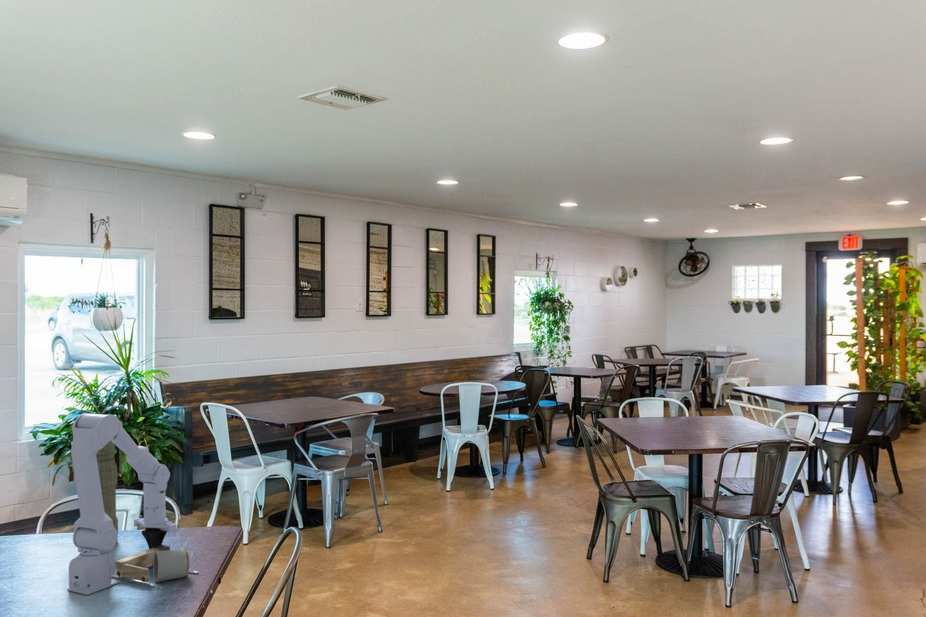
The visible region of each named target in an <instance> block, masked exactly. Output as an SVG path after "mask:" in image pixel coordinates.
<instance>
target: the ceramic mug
mask: <svg viewBox="0 0 926 617" xmlns="http://www.w3.org/2000/svg"><path fill="white" fill-rule="evenodd" d="M152 566H153V568H152V569H153V580H154V581H155V582H156V583H161V582H165V581H169V580H170V581H171V580H176V578H177V579H182V578H184V576H185V577H186V576H188V574H189V573H188V572H189V570H190V556H189V551H187V550H186V549H182V548H181V549H179V548H178V549H170V550H166V551H156V552H155V554H154V560H153V565H152ZM181 577H182V578H181Z"/></svg>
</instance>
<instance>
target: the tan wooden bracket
mask: <svg viewBox="0 0 926 617" xmlns="http://www.w3.org/2000/svg"><path fill="white" fill-rule="evenodd" d="M166 550H171V548H170V545H165V544H162V545H159V546H157V547H154V548H151V549H149V548H148V549H145V550H143V551H140V552H138V553H135V554H132V555H129V556H126V557H124V558H121V559H117V560H115V568H114V569H115V575H117V576H121V577H126V578H130V579H135V580H139V581H143V582H148V583H150V568H148V567H150V566H153V560H154V554H155V552H156V551H166Z"/></svg>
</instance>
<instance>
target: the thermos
mask: <svg viewBox="0 0 926 617" xmlns="http://www.w3.org/2000/svg"><path fill="white" fill-rule="evenodd" d="M115 446H116V445H115V444H114V443H113V442H112V441H110V442H108V443H107V444H106V445H105V446H104V447H103V448H102V449H100V450H99V451H98V452H97V454H96V457H97V464H98V471H99V477H100V484H101V491H102V498H103V505H104V511H105V513H106V514H107V515H108V516H109V517H110V518H111V519H112V521H113V525H114V527H115V529H116V530H117V533H118V534H119V519H118V516H117V496H116V493H117V492H116V491H117V490H116V489H117V488H116V487H117V486H118V477H119V475H122V469H123V468H122V467H123V464H122V462H123V460H122V457H123V456H122V453H123V451H122V450H121V449H119V448H118V447H117V446H116V448H115ZM115 449H116V450H115ZM115 452H116V457H115ZM115 459H116V460H115ZM118 542H119V540H117V543H118Z"/></svg>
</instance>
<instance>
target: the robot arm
mask: <svg viewBox="0 0 926 617" xmlns="http://www.w3.org/2000/svg"><path fill="white" fill-rule="evenodd" d="M123 427H124V426H123V422H122V421H121V420H119V418H118V417H117V416H116V415H114V414H98V413H97V414H96V413H91V412H83V413H82V414H80V415H79V416H78V417H77V418H76V419H75V421H74V422H73V424H72V425H71V430H72V436H73V438H72V443H71V449H70V453H71V454H70V455H71V460H72V467H73V468H72V470H73V474H74V480H75V488H76V494H77V495H76V496H77V499H78V500H77V501H78V508H79V515H80V517H79V518H78V519H77V520H76V521H75V522H74V523H73V526H74V528H73V529H74V530H73V534H72V542H73V545H74V546H75V547H76V548H77V552H78V553H79V554H78V555H77V556H76V557H73V558H72V559H71V560H70V561H69V564H68V565H69V566H68V587H67V588H66V590H67V591H70V592H74V593H77V594H82V595H86V596H87V595H88V596H89V595H91V594H94V593H97V592H99V591H101V590H104V589H107V588H109V587H112V586H114V585H116V584H119V583H120V580H119V579H115V578H111V574H112V551H114V548H115V547H116V544H117V543H118V542H117V540H118V538H119V532H118V533H117V530H116V529H115V527H114V525H113V521H112V519H111V518H110V517H109V516H108V515H107V514H106V513H105V511H104V505H103V498H102V491H101V484H100V477H99V471H98V464H97V457H96V454H97V452H98V451H99V450H100V449H102V448H103V447H104V446H105V445H106V444H107V443H108V442H110V441H112V442H113V443H114V444H115V446H117V447H118V448H119V449H121V450H122V453H124V454H125V455H126V458H125V461H126V462H127V463H128V465H129V466H130V467H132V469H133V470H135V472H136V473H137V477H138V478H137V479H138V481H139V482H141V483H142V484H143V517H137V518H135V519H133V527H142V528H145V529H144V530H142V531H141V535H142V536H143V537H144V539H145V542H146V543H147V546H148V549H151V548H154V547H157V546H159V545H163V542H164V539H165V537H166V535H167V533H171V534H172V533H174V532H176V531H177V524H176V523H173V522H171V521H169V518H167V517H166V516H167V515H166V514H167V513H166V511H167V510H166V508H167V507H166V490H167V488H168V482H169V479H170V477H171V472H170V471H169V468H168V467H167V465H166V464H163V463H160V462H159V460H158V458H156V457H154V456H153V454H152V453H150V452H149V450H150V449H149V447H148V446H143V445H137V444H136V443H135V441H134V440H133V439H132V437H131V436H130V435H129V433H127V431H126V430H125V429H124V428H123ZM118 541H119V540H118Z"/></svg>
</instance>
